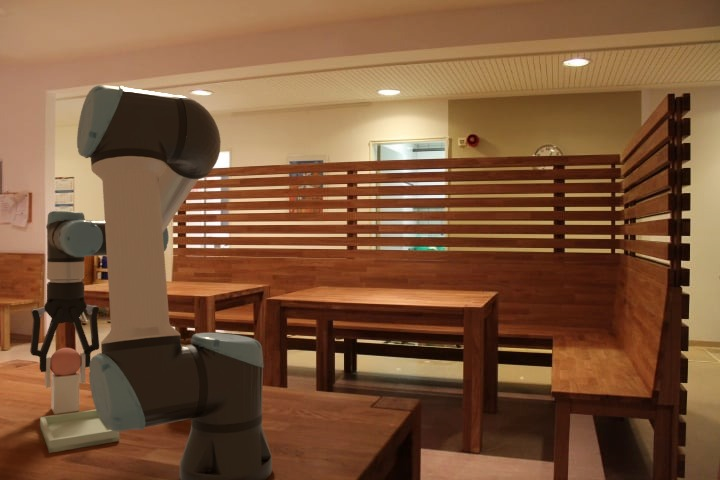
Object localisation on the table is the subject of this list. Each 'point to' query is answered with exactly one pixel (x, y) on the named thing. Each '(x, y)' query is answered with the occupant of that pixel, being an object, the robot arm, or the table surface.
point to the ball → (65, 362)
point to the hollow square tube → (65, 393)
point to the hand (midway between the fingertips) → (65, 383)
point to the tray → (75, 431)
